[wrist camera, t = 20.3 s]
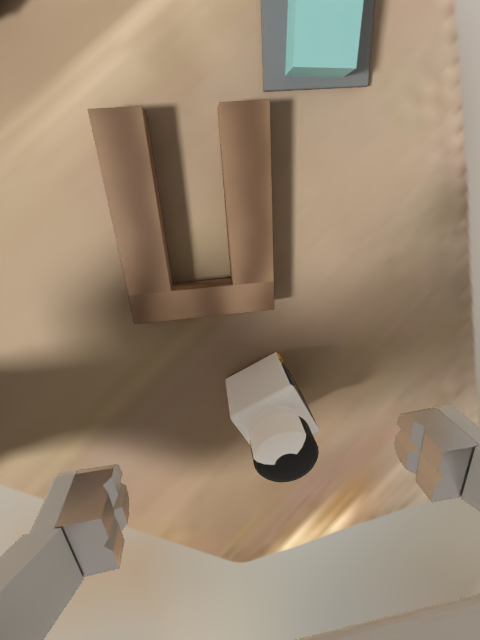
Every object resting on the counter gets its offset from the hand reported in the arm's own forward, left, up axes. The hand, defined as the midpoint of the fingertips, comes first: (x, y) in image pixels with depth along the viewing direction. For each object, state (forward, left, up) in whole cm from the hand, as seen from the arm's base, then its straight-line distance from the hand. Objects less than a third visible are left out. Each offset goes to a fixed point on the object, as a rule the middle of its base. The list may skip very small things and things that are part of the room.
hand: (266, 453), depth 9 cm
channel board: (-2, +4, -26) cm, 26 cm away
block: (+10, +18, -25) cm, 33 cm away
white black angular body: (+4, -16, -26) cm, 31 cm away
